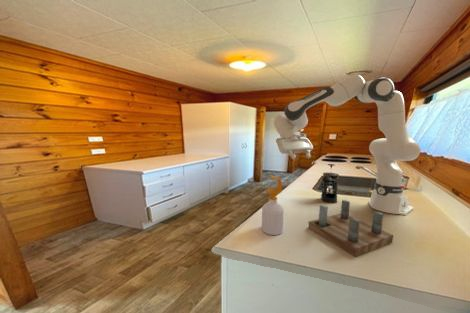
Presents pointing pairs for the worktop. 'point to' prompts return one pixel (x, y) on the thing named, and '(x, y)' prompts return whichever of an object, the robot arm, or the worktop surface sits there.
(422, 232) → the worktop surface
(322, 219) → the stool leg
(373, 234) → the stool
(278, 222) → the white orange spray bottle
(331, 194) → the french press
